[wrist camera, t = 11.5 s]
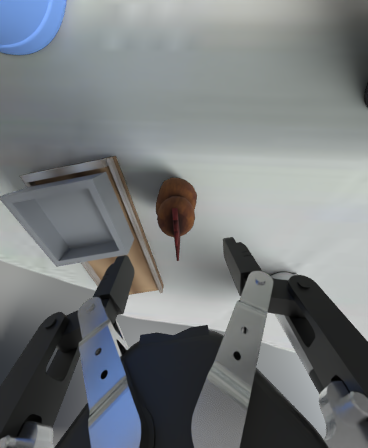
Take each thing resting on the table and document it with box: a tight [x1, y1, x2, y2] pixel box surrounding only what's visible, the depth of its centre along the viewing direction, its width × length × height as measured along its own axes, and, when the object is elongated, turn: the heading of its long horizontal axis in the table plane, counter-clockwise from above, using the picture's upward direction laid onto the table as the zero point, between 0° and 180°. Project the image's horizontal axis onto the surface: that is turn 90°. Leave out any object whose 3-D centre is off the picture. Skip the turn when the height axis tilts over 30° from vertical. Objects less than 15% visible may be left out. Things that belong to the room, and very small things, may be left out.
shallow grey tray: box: [0, 172, 134, 267], centre depth 24 cm, size 12×12×6 cm
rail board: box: [20, 156, 164, 295], centre depth 30 cm, size 14×31×3 cm, turn 10°
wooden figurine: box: [156, 177, 197, 261], centre depth 20 cm, size 7×6×15 cm
